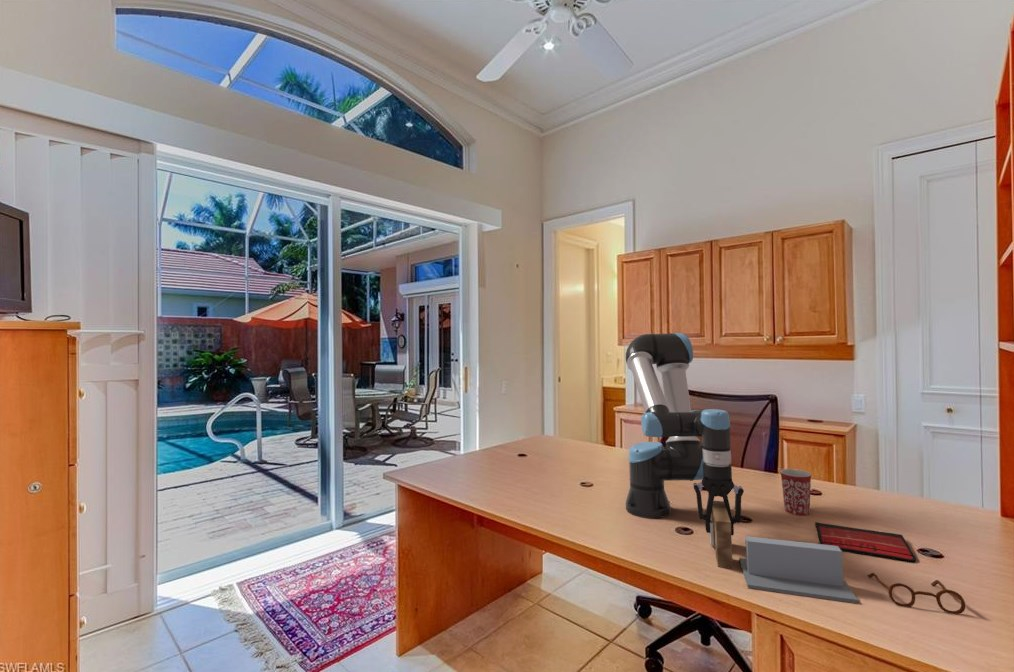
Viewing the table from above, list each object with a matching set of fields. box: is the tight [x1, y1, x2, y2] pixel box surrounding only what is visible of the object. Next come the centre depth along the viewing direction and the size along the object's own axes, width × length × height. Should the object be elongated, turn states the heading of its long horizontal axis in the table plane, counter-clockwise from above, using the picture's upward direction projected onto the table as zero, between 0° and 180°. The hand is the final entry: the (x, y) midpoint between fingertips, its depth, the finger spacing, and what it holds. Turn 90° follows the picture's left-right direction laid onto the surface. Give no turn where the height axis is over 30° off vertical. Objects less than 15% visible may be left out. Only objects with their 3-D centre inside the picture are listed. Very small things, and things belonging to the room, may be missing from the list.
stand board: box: [738, 535, 859, 605], centre depth 110 cm, size 22×14×9 cm, turn 70°
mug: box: [779, 468, 813, 517], centre depth 154 cm, size 13×9×14 cm
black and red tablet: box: [814, 521, 917, 564], centre depth 128 cm, size 16×2×21 cm
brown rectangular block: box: [711, 500, 733, 569], centre depth 125 cm, size 4×16×12 cm, turn 160°
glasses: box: [866, 572, 966, 615], centre depth 103 cm, size 13×13×5 cm
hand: (719, 544), depth 129 cm, fingers closed on brown rectangular block, 3 cm apart
